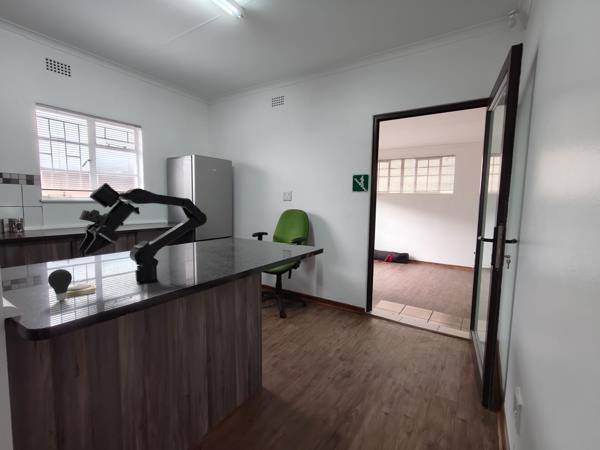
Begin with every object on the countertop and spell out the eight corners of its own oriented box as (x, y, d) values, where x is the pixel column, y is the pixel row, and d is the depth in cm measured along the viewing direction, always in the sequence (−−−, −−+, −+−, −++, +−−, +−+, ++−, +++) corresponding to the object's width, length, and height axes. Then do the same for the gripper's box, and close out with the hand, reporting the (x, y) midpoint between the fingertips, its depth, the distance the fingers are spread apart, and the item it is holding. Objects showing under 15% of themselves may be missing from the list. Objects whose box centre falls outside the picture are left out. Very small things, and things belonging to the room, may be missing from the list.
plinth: (93, 286, 100) (93, 281, 100) (95, 292, 94) (94, 287, 93) (60, 291, 95) (60, 286, 95) (60, 298, 88) (59, 293, 88)
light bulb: (59, 305, 82) (57, 272, 81) (44, 303, 83) (42, 271, 82) (78, 298, 88) (76, 267, 87) (63, 297, 89) (61, 266, 88)
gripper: (88, 201, 99) (52, 236, 93) (103, 201, 87) (62, 241, 80) (116, 220, 106) (85, 254, 99) (133, 222, 94) (98, 261, 87)
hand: (82, 252), depth 91 cm, fingers open, 9 cm apart
